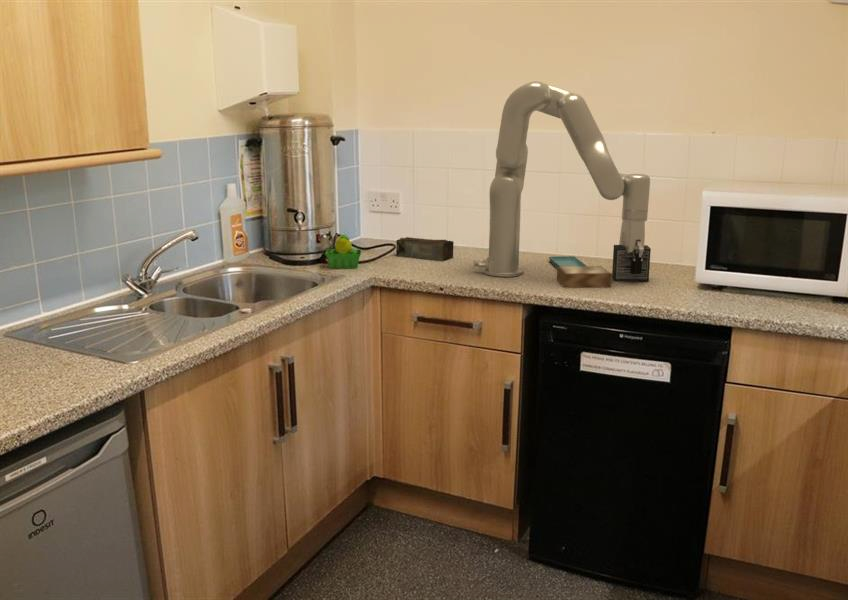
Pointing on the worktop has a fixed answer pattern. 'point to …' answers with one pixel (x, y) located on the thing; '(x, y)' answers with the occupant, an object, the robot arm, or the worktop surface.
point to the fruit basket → (343, 254)
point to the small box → (629, 265)
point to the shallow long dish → (566, 261)
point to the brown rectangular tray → (583, 276)
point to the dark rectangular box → (424, 248)
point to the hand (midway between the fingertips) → (630, 270)
